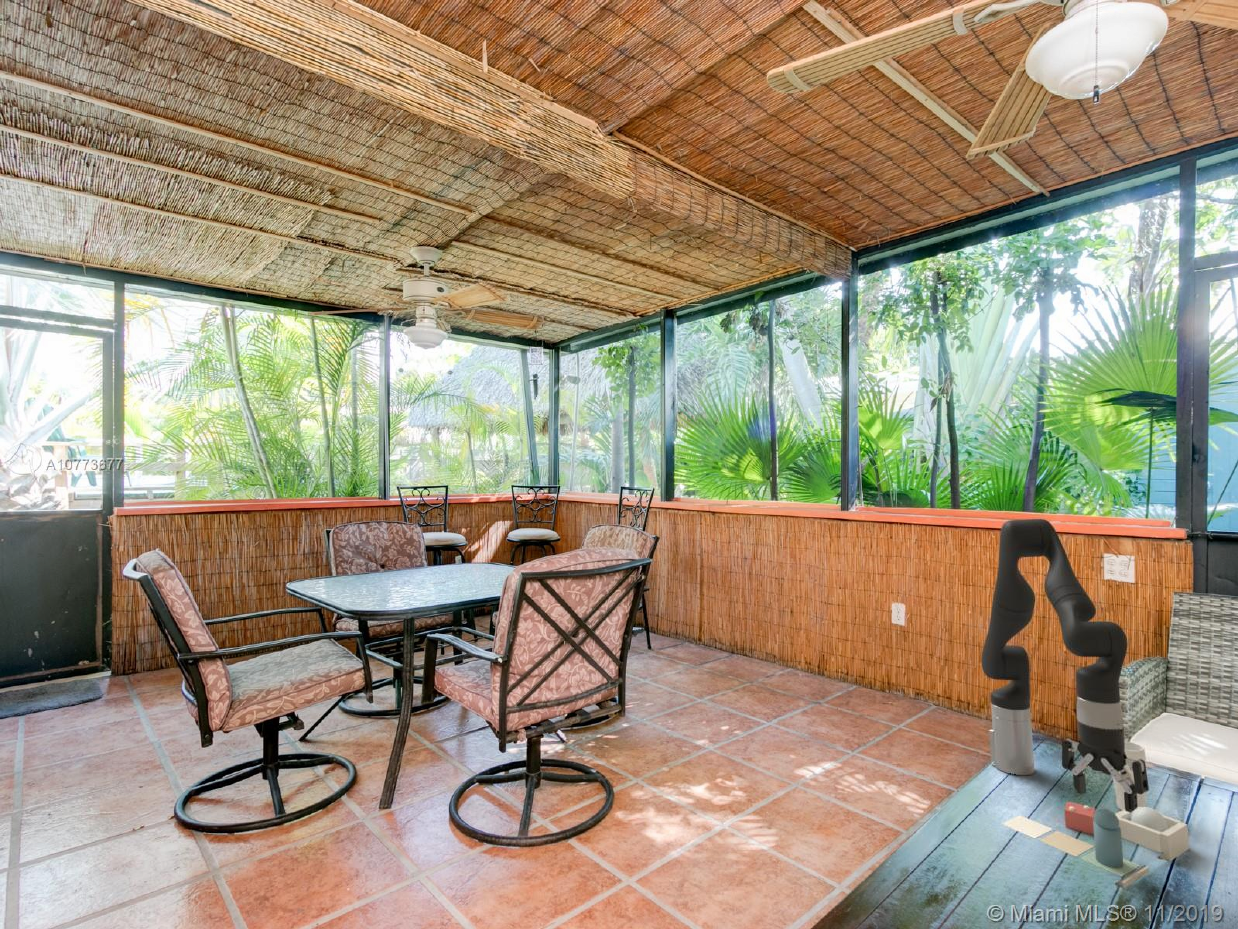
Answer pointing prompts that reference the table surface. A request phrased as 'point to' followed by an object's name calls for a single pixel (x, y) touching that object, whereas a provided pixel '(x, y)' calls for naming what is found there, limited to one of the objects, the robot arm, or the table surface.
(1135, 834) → the dome collar
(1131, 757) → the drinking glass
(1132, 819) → the pale grey egg
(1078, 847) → the game board
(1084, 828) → the red die
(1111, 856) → the slate blue cylinder
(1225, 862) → the table surface
